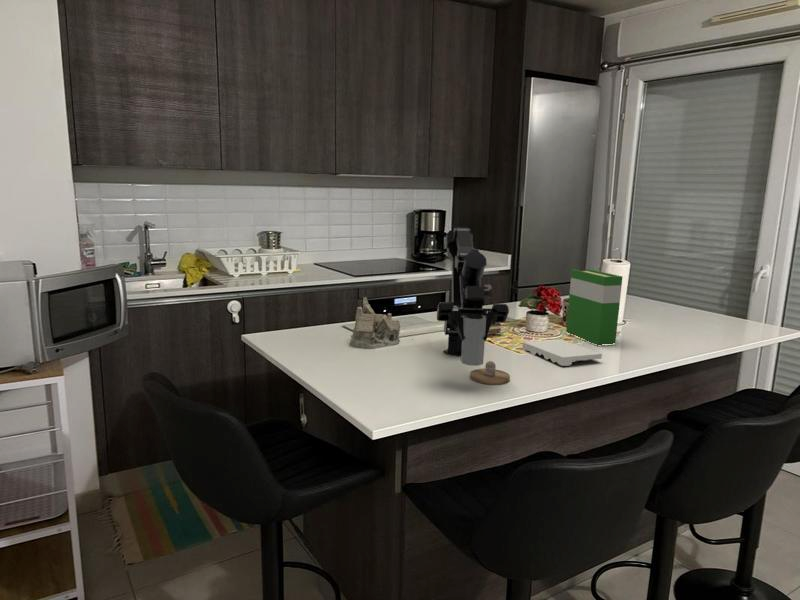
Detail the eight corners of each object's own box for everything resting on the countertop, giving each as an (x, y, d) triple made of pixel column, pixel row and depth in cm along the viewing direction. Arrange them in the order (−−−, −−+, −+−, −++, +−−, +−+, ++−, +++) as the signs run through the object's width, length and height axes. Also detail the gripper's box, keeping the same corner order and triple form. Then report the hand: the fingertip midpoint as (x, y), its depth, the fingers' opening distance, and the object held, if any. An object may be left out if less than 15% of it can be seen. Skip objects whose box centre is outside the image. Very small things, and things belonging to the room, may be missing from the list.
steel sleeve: (460, 358, 159) (462, 313, 157) (480, 359, 160) (483, 314, 157) (462, 365, 154) (465, 318, 151) (484, 365, 154) (487, 319, 151)
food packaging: (522, 352, 195) (561, 368, 176) (523, 342, 194) (562, 357, 176) (559, 349, 201) (601, 364, 182) (559, 339, 200) (601, 353, 182)
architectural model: (503, 336, 212) (504, 316, 211) (488, 338, 209) (489, 318, 207) (496, 334, 215) (498, 314, 214) (481, 336, 212) (483, 316, 210)
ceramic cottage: (343, 346, 191) (347, 300, 188) (361, 336, 207) (365, 294, 204) (389, 354, 187) (394, 308, 184) (403, 343, 202) (408, 301, 200)
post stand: (480, 369, 172) (481, 353, 171) (515, 377, 166) (516, 360, 165) (463, 379, 163) (464, 362, 162) (500, 387, 157) (501, 370, 156)
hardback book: (565, 333, 218) (571, 269, 213) (582, 332, 221) (588, 268, 216) (597, 346, 202) (605, 277, 197) (615, 344, 205) (622, 276, 200)
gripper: (439, 272, 155) (441, 323, 147) (510, 274, 156) (516, 325, 148) (435, 295, 165) (437, 344, 156) (502, 297, 165) (507, 346, 157)
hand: (474, 339), depth 154 cm, fingers closed on steel sleeve, 6 cm apart
